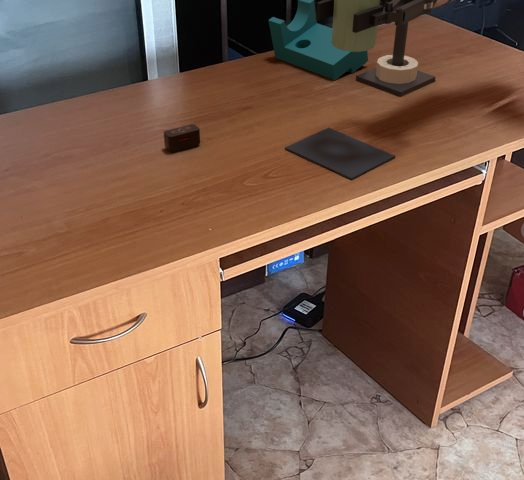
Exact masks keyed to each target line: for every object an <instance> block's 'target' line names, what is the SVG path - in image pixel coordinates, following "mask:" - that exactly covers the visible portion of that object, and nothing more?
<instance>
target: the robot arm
mask: <svg viewBox="0 0 524 480" xmlns="http://www.w3.org/2000/svg"><path fill="white" fill-rule="evenodd" d="M455 1H456V0H380V4H379V6H377V7H374V8H371V9H368V10H365V11H362V12H359V13H356V14H354V17H353V29H352V32H354V33H357V32H360V31H363V30H366V29H368V28H371V27H374V26H377V27H378V25H382V24H384V25H390V24H392V23H394V26H396V25H397V26H401V25H403V24H405V23H407V22H408V23H409V22H411V21H413V20H415V19H417V18H420V17H421V16H423V15H428V14H431V13H432V12H433V9H435V8H437V7H440V6H442V5H446V4H449V3H452V2H455ZM315 11H316V20H317V22H318V21H319V22H321V21H323V20H327V19H328V18H333V12H334V0H321V1H320V0H319V1H317V2H316V6H315Z"/></svg>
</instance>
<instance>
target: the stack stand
mask: <svg viewBox="0 0 524 480" xmlns="http://www.w3.org/2000/svg"><path fill="white" fill-rule="evenodd" d="M408 28H409V22H407V23H405V24H403V25H401V26H397V25H395V33H394V41H393V48H392V49H393V50H392V55H393V57H392V66H403V62H404V56H405V53H406V44H407V37H408V30H409V29H408ZM436 78H437V77H436V76H435V75H432V74H429V73H426V72H423V71H421V70H418V69H417V76H416V79H415V80H414V81H412V82H410V83H404V84H393V83H387V82H384V81H381V80H379V79H378V78H377V77H376V67H374V68H371V69H369V70H367V71H365V72H361V73H359V74H357V75H355V81H357V82H359V83H362V84H365V85H367V86H370V87H373V88H376V89H379V90H381V91H383V92H386V93H389V94H391V95H394V96H397V97H399V98H400V97H403V96H405V95H407V94H410V93H411V92H414V91H416V90H419V89H420V88H423V87H425V86H428V85H429V84H432V83H434V82H436Z"/></svg>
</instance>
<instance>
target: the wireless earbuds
mask: <svg viewBox="0 0 524 480" xmlns="http://www.w3.org/2000/svg"><path fill="white" fill-rule="evenodd" d="M163 141H164V143H163V144H164V148H165V149H166V150H167V151H168V152H170V153H175V152H176V153H177V152H179V151H182V150H186V149H187V150H188V149H191V148H194V147H198V146H200V145H201V129H200V127H198V125H196V124H195V123H192V124H187V125H183V126H179V127H175V128H174V127H173V128H171V129H166V130H163Z"/></svg>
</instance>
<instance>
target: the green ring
mask: <svg viewBox="0 0 524 480" xmlns="http://www.w3.org/2000/svg"><path fill="white" fill-rule="evenodd" d="M380 2H381V1H380V0H334V12H333V16H332V27H331V28H332V45H333V46H334V47H335V48H338V49H340V50H343V51H351V52H360V51H367V52H368V51H370V50H372V49H374V48H375V46H376V44H377V34H378V25H377V26H374V27H371V28H368V29H366V30H363V31H360V32H357V33H354V32H352V29H353V17H354V14H356V13H359V12H362V11H365V10H368V9H371V8H374V7H377V6H379V4H380Z"/></svg>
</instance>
